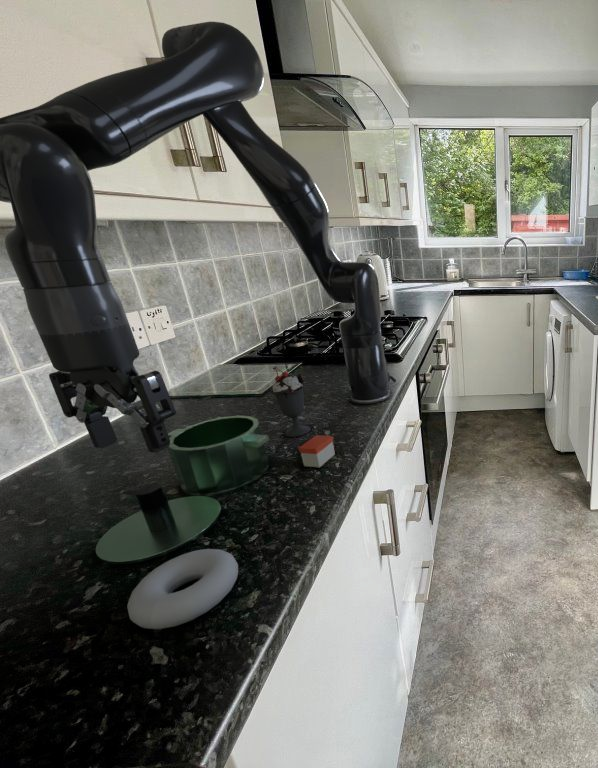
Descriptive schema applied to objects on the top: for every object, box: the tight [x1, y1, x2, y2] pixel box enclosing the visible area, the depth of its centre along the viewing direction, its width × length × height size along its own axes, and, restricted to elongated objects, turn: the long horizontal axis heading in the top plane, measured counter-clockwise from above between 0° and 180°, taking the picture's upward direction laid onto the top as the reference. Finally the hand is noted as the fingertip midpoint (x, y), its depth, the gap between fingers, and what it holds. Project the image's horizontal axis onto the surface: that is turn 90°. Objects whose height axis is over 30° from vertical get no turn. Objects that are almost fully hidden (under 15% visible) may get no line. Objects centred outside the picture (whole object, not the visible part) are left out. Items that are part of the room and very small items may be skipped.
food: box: [298, 434, 336, 468], centre depth 75 cm, size 5×3×4 cm
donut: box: [126, 548, 239, 630], centre depth 46 cm, size 10×4×10 cm
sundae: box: [269, 366, 312, 438], centre depth 84 cm, size 7×7×15 cm
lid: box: [95, 482, 222, 565], centre depth 56 cm, size 14×14×7 cm
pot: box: [166, 415, 270, 497], centre depth 70 cm, size 13×18×8 cm
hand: (133, 447), depth 53 cm, fingers open, 8 cm apart
